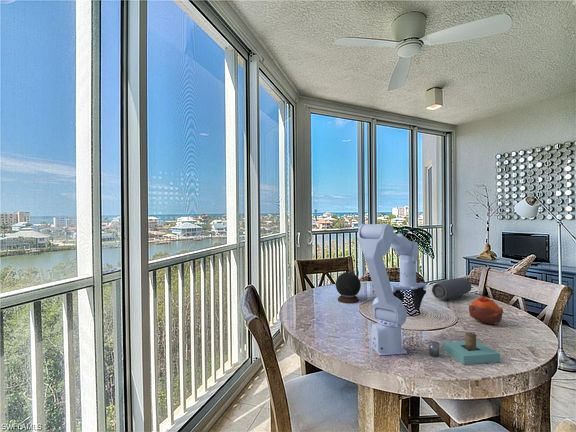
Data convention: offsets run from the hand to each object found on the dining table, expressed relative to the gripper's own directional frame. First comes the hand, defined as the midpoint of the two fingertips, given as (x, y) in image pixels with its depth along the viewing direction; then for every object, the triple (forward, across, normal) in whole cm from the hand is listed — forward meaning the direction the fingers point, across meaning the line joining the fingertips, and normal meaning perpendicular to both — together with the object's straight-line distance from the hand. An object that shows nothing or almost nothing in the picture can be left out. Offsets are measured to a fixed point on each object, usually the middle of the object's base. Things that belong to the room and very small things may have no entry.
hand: (408, 309), depth 113 cm
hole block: (+10, +8, -20) cm, 23 cm away
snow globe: (+10, 0, +50) cm, 51 cm away
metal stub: (+10, -3, -16) cm, 19 cm away
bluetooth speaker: (+10, +54, +34) cm, 65 cm away
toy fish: (+10, +38, +1) cm, 39 cm away
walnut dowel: (+10, +8, -20) cm, 24 cm away
